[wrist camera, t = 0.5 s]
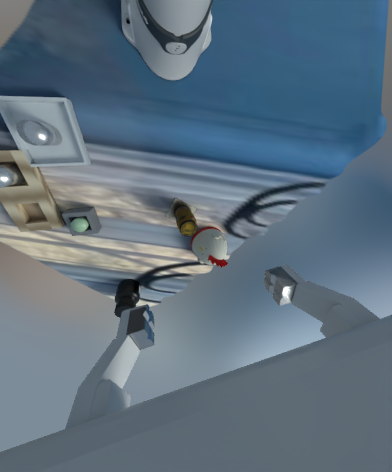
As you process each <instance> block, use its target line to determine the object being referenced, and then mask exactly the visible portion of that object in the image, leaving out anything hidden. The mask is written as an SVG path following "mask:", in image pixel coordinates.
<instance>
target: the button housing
mask: <svg viewBox="0 0 392 472" xmlns="http://www.w3.org/2000/svg"><path fill="white" fill-rule="evenodd" d="M62 216H63V218H64V220H65V222H66V224H67V226H68V228H69V230H70V232H71V234H72V236H76V235H85V234H94V233H98V232H99V230H100V229H101V224H100V222H99V219H98V216H97V213H96V211H95V208H94V207H88V208H76V209H68V210H67V211H65V212H64V213H62ZM80 216H84V217H86V218H87V219H88V221H89V224H90V225H89V226H88V227H87V229H86V230H85V231H83V232H76V231H74V230H73V229H72V228H71V226H70V224H71V222H72V221H73V220H74V219H75V218H77V217H80Z"/></svg>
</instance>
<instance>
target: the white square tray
mask: <svg viewBox="0 0 392 472" xmlns="http://www.w3.org/2000/svg"><path fill="white" fill-rule="evenodd" d="M0 113H1V115H2V117H3V119H4V121H5V123H6V125H7V127H8V129H9V131H10V133H11V135H12V137H13V138H14V140H15V142H16V144H17V146H18V148H19V150H23V152H24V154H25V156H26V158H27V160H28V162H29V164H30V166H31V167H46V166H71V165H89V164H91V161H90V158H89V155H88V152H87V149H86V146H85V143H84V139H83V136H82V133H81V130H80V127H79V124H78V121H77V118H76V115H75V112H74V109H73V106H72V103H71V100H69V99H67V98H57V97H23V96H0ZM24 119H25V120H31V121H36V122H41V123H45V124H50V125H52V126H54V127H55V128H57V129H58V131H59V132H60V134H61V136H62V142H61V143H60V144H59V145H57V146H35V145H31V144H29V143H27V142H25V141H24V140H23V139H22V138H21V137H20V136H19V134H18V132H17V128H16V126H17V123H18V122H19V121H20V120H24ZM28 151H29V153H28ZM29 154H30V155H29ZM33 163H34V164H33Z"/></svg>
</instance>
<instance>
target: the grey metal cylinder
mask: <svg viewBox="0 0 392 472" xmlns="http://www.w3.org/2000/svg"><path fill="white" fill-rule="evenodd" d="M16 128H17V132H18V134H19V136H20V137H21V138H22V139H23V140H24V141H25V142H27V143H29V144H31V145H35V146H57V145H59V144H60V143H61V142H62V136H61V134H60V132H59V131H58V129H57V128H55V127H54V126H52V125H50V124H45V123H41V122H36V121H31V120H25V119H24V120H20V121H19V122H18V123H17V126H16Z"/></svg>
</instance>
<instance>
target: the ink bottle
mask: <svg viewBox="0 0 392 472" xmlns="http://www.w3.org/2000/svg"><path fill="white" fill-rule="evenodd" d="M140 290H141V286H140V284H139V283H138V282H137V281H135V280H130V279H129V280H125V281H122V282H121V283H120V284H119V286H118V289H117V292H116V296H115V302H116V303H117V304H116V308H115V312H114V313H115V315H116V316H117V317H120V318H121V313H122V312H123V311H124V310H127V309H131V308H135V307H136V303H137V302H138V301H139V298H140Z"/></svg>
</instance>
